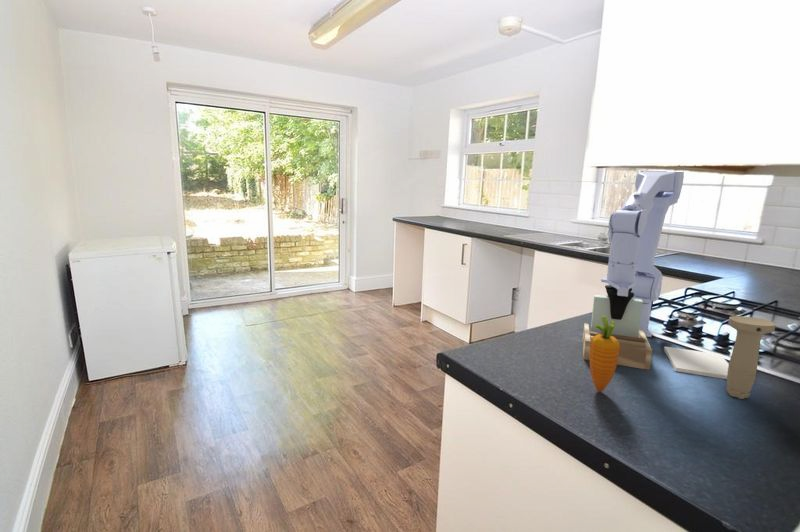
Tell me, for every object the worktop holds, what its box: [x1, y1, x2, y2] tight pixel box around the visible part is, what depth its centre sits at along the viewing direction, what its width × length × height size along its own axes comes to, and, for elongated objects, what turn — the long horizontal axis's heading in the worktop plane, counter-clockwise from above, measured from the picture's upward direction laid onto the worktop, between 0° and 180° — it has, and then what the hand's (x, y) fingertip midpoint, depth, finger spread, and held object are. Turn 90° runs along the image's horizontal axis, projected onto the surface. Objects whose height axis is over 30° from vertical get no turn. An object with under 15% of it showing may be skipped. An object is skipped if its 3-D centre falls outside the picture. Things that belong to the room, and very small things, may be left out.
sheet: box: [590, 294, 643, 338], centre depth 94 cm, size 2×10×9 cm, turn 67°
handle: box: [725, 315, 777, 400], centre depth 73 cm, size 5×6×15 cm
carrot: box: [588, 316, 620, 393], centre depth 74 cm, size 5×5×15 cm
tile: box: [663, 345, 729, 380], centre depth 88 cm, size 12×11×1 cm
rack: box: [582, 322, 653, 371], centre depth 92 cm, size 12×13×6 cm
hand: (615, 317), depth 94 cm, fingers closed on sheet, 2 cm apart
